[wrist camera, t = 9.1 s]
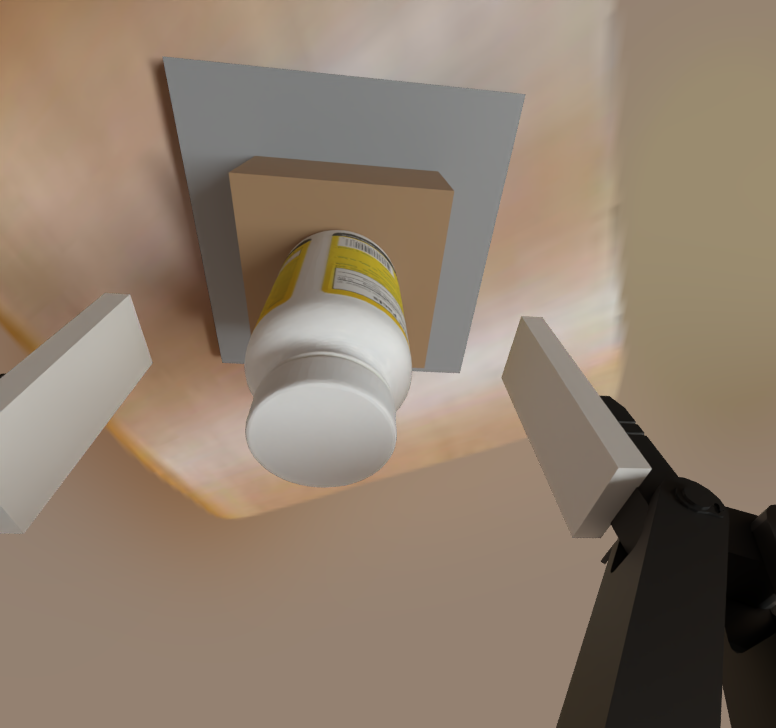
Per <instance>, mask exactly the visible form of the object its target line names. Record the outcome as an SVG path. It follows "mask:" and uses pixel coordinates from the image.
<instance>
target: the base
mask: <svg viewBox="0 0 776 728" xmlns="http://www.w3.org/2000/svg"><path fill="white" fill-rule="evenodd" d="M163 62H164V67H165V72H166V77H167V82H168V87H169V92H170V98H171V103H172V108H173V113H174V118H175V123H176V128H177V133H178V138H179V144H180V149H181V154H182V159H183V164H184V169H185V174H186V179H187V184H188V190H189V195H190V200H191V205H192V210H193V215H194V220H195V225H196V230H197V236H198V241H199V246H200V251H201V256H202V261H203V266H204V271H205V276H206V282H207V287H208V292H209V297H210V302H211V307H212V312H213V317H214V322H215V328H216V333H217V338H218V343H219V348H220V353H221V358H222V363H239V364H245V355H246V350H247V346H248V343H249V340H250V337H251V334H252V332H253V330H254V328H255V325H256V323H257V321H258V319H259V317H260V314H261V312H262V310H263V308H264V305H265V303H266V301H267V299H268V296H269V294H270V292H271V290H272V288H273V285H274V283H275V281H276V279H277V276H278V274H279V272H280V270H281V268H282V265H283V263H284V261H285V260H286V258H287V256H288V255H289V253H290V252H291V251H292V250H293V248H294V247H295V246H296V245H297V244H299V243H300V242H301V241H302V240H304V239H305V238H307V237H309V236H311V235H313V234H316V233H319V232H323V231H329V230H345V231H350V232H354V233H357V234H360V235H362V236H364V237H366V238H368V239H370V240H371V241H373V242H374V243H376V244H377V245H378V246H379V247H380V248H381V249H382V250H383V251H384V252H385V253H386V255H387V256H388V257H389V259H390V261H391V262H392V264H393V267H394V269H395V272H396V275H397V279H398V283H399V288H400V294H401V299H402V305H403V311H404V317H405V323H406V329H407V335H408V340H409V346H410V353H411V361H412V371H423V372H446V373H460V370H461V365H462V361H463V357H464V353H465V349H466V344H467V340H468V336H469V332H470V327H471V323H472V319H473V315H474V310H475V306H476V302H477V298H478V293H479V289H480V285H481V281H482V276H483V272H484V268H485V264H486V259H487V255H488V251H489V247H490V243H491V238H492V234H493V230H494V226H495V221H496V217H497V213H498V209H499V204H500V200H501V196H502V192H503V187H504V183H505V179H506V175H507V170H508V166H509V162H510V158H511V153H512V149H513V145H514V141H515V137H516V132H517V128H518V124H519V120H520V115H521V111H522V107H523V103H524V98H525V94H517V93H508V92H498V91H488V90H479V89H469V88H460V87H450V86H440V85H431V84H421V83H412V82H402V81H392V80H383V79H373V78H364V77H354V76H344V75H335V74H325V73H316V72H306V71H296V70H287V69H277V68H268V67H258V66H249V65H239V64H229V63H220V62H210V61H201V60H191V59H181V58H172V57H163Z"/></svg>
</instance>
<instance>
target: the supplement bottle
mask: <svg viewBox="0 0 776 728" xmlns="http://www.w3.org/2000/svg"><path fill="white" fill-rule="evenodd" d="M245 375H246V380H247V384H248V387H249V389H250V391H251V393H252V395H253V402H252V405H251V408H250V412H249V415H248V418H247V421H246V429H245V434H246V440H247V444H248V447H249V449H250V451H251V453H252V454H253V456H254V457H255V459H256V460H257V461H258V462H259V463H260V464H261V465H262V466H263V467H264V468H265V469H267V470H268V471H269V472H271V473H272V474H274V475H276V476H277V477H280V478H282V479H284V480H286V481H289V482H292V483H296V484H299V485H304V486H311V487H338V486H345V485H349V484H353V483H356V482H358V481H361V480H363V479H366V478H368V477H369V476H371V475H373V474H374V473H376V472H377V471H378V470H380V469H381V468H382V467H383V466H384V465H385V464H386V463H387V461H388V460H389V459H390V457H391V455H392V453H393V451H394V448H395V444H396V439H397V430H396V411H397V410H398V409H399V408H400V406H401V405H402V403H403V401H404V400H405V398H406V396H407V393H408V390H409V388H410V384H411V378H412V361H411V353H410V346H409V340H408V335H407V329H406V323H405V317H404V311H403V305H402V299H401V294H400V288H399V283H398V279H397V275H396V272H395V269H394V267H393V264H392V262H391V261H390V259H389V257H388V256H387V255H386V253H385V252H384V251H383V250H382V249H381V248H380V247H379V246H378V245H377V244H376V243H374V242H373V241H371V240H370V239H368V238H366V237H364V236H362V235H360V234H357V233H354V232H350V231H345V230H329V231H323V232H319V233H316V234H313V235H311V236H309V237H307V238H305V239H304V240H302V241H301V242H300V243H299V244H297V245H296V246H295V247H294V248H293V250H292V251H291V252H290V253H289V255H288V256H287V258H286V260H285V261H284V263H283V265H282V268H281V270H280V272H279V274H278V276H277V279H276V281H275V283H274V285H273V288H272V290H271V292H270V294H269V296H268V299H267V301H266V303H265V305H264V308H263V310H262V312H261V314H260V317H259V319H258V321H257V323H256V325H255V328H254V330H253V332H252V334H251V337H250V340H249V343H248V346H247V350H246V355H245Z"/></svg>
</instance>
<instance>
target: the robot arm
mask: <svg viewBox="0 0 776 728" xmlns="http://www.w3.org/2000/svg"><path fill="white" fill-rule="evenodd" d="M152 363H153V362H152V359H151V356H150V353H149V350H148V347H147V344H146V341H145V338H144V335H143V332H142V329H141V326H140V323H139V320H138V317H137V314H136V311H135V308H134V305H133V302H132V299H131V296H130V294H115V293H104V294H103V295H102V296H101V297H99V298H98V299H97V300H96V301H94V302H93V303H92V304H91V305H90V306H88V307H87V308H86V309H85V310H83V311H82V312H81V313H80V314H79V315H77V316H76V317H75V318H74V319H72V320H71V321H70V322H69V323H68V324H66V325H65V326H64V327H63V328H61V329H60V330H59V331H58V332H57V333H55V334H54V335H53V336H52V337H50V338H49V339H48V340H47V341H46V342H44V343H43V344H42V345H41V346H39V347H38V348H37V349H36V350H35V351H33V352H32V353H31V354H30V355H28V356H27V357H26V358H25V359H24V360H23V361H21V362H20V363H19V364H17V365H16V366H15V367H14V368H13V369H11V370H10V371H9V372H8V373H6V374H0V533H14V534H16V533H17V534H19V533H20V534H21V533H22V534H23V533H25V531H26V530H27V529H28V527H29V526H30V525H31V523H32V522H33V521H34V519H35V518H36V517H37V515H38V514H39V513H40V512H41V510H42V509H43V508H44V506H45V505H46V504H47V502H48V501H49V500H50V498H51V497H52V496H53V494H54V493H55V492H56V490H57V489H58V487H59V486H60V485H61V484H62V482H63V481H64V479H65V478H66V477H67V476H68V474H69V473H70V472H71V470H72V469H73V468H74V466H75V465H76V464H77V463H78V461H79V460H80V459H81V457H82V456H83V455H84V453H85V452H86V450H87V449H88V448H89V447H90V445H91V444H92V443H93V441H94V440H95V439H96V437H97V436H98V435H99V433H100V432H101V431H102V429H103V428H104V427H105V425H106V424H107V423H108V421H109V420H110V419H111V417H112V416H113V415H114V414H115V412H116V411H117V410H118V408H119V407H120V406H121V404H122V403H123V402H124V400H125V399H126V398H127V396H128V395H129V394H130V392H131V391H132V390H133V388H134V387H135V386H136V384H137V383H138V382H139V380H140V379H141V378H142V376H143V375H144V374H145V372H146V371H147V370H148V368H149V367H150V366H151V365H152ZM502 380H503V382H504V385H505V387H506V389H507V391H508V394H509V396H510V398H511V400H512V403H513V405H514V407H515V409H516V412H517V414H518V416H519V418H520V421H521V423H522V425H523V427H524V430H525V432H526V434H527V436H528V439H529V441H530V443H531V445H532V447H533V450H534V452H535V454H536V457H537V459H538V461H539V463H540V466H541V468H542V470H543V472H544V475H545V477H546V479H547V481H548V484H549V486H550V488H551V491H552V493H553V495H554V497H555V499H556V502H557V504H558V506H559V508H560V511H561V513H562V515H563V518H564V520H565V522H566V524H567V527H568V529H569V531H570V533H571V535H572V538H601V537H602V536H603V534H604V533H605V532H606V530H607V529H608V528H609V526H610V525H612V527H613V529H614V531H615V533H616V534H617V536H618V540H617V541H616V542H615V543H614V544H613V546H612V547H611V548H610V550H609V551H608V552H607V553H606V555H605V556H604V557H603V559H602V560H601V562H602V563H604V564H606V562H607V561H608V563H607V566H606V570H605V573H604V576H603V579H602V582H601V586H600V589H599V592H598V595H597V598H596V602H595V605H594V608H593V611H592V615H591V618H590V621H589V624H588V627H587V630H586V634H585V637H584V640H583V643H582V646H581V650H580V653H579V656H578V659H577V662H576V666H575V669H574V672H573V675H572V678H571V682H570V685H569V688H568V691H567V695H566V698H565V701H564V704H563V707H562V710H561V714H560V717H559V720H558V723H557V727H556V728H720V724H721V700H722V685H723V690H724V695H725V699H726V704H727V709H728V713H729V718H730V723H731V727H732V728H776V505H770V506H769V507H768V508H767V509H766V510H765V511H764V512H763V513H761V514H760V515H759V516H757V515H754V514H750V513H747V512H743V511H739V510H736V509H732V508H729V507H725V506H724V504H723V503H722V502H721V500H720V499H719V498H718V497H717V496H716V495H714V494H713V493H712V492H711V491H710V490H708V489H707V488H705V487H704V486H702V485H700V484H699V483H697V482H694V481H691V480H689V479H686V478H682V477H678V476H677V474H676V473H675V472H674V471H673V469H672V468H671V467H670V465H669V464H668V463H667V462H666V460H665V459H664V458H663V456H662V455H661V454H660V453H659V451H658V450H657V449H656V447H655V446H654V445H653V444H652V442H651V441H650V440H649V438H648V437H647V436H644V432H643V431H642V429H641V428H640V427H639V426H638V425H637V424H635V420H634V419H633V418H632V416H631V415H630V414H629V413H628V411H627V410H626V409H625V408H624V407H623V406H622V405H620V404H619V403H618V402H616V401H615V400H614V399H612V398H611V397H610V396H599V395H598V393H597V392H596V391H595V389H594V388H593V387H592V385H591V384H590V382H589V381H588V380H587V378H586V377H585V375H584V374H583V373H582V371H581V370H580V369H579V367H578V366H577V364H576V363H575V362H574V360H573V359H572V358H571V356H570V355H569V353H568V352H567V351H566V349H565V348H564V347H563V345H562V344H561V342H560V341H559V340H558V338H557V337H556V336H555V334H554V333H553V331H552V330H551V329H550V327H549V326H548V324H547V323H546V322H545V320H544V319H543V318H542V317H527V316H521V319H520V322H519V325H518V328H517V331H516V334H515V337H514V341H513V344H512V347H511V350H510V353H509V356H508V359H507V362H506V365H505V368H504V371H503V375H502Z"/></svg>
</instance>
